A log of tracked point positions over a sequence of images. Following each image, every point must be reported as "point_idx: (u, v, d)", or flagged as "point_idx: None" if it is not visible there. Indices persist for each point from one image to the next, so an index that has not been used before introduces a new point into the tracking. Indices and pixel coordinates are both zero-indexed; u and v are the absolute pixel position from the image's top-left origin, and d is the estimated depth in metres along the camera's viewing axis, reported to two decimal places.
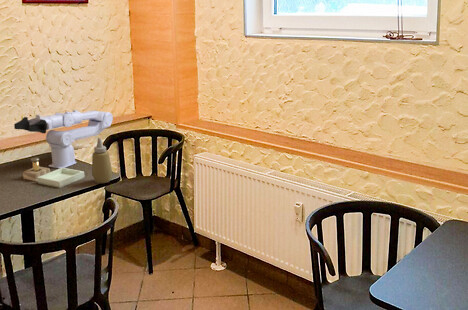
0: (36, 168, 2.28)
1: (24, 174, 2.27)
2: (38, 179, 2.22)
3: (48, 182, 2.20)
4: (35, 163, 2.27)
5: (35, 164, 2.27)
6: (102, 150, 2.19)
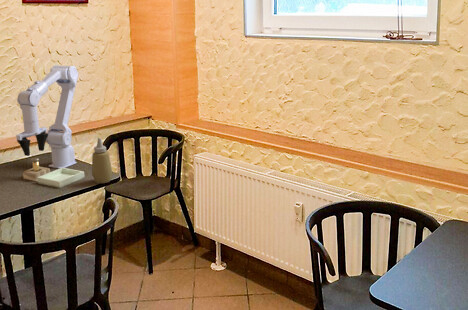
0: (36, 168, 2.28)
1: (24, 174, 2.27)
2: (38, 179, 2.22)
3: (48, 182, 2.20)
4: (35, 163, 2.27)
5: (35, 164, 2.27)
6: (102, 150, 2.19)
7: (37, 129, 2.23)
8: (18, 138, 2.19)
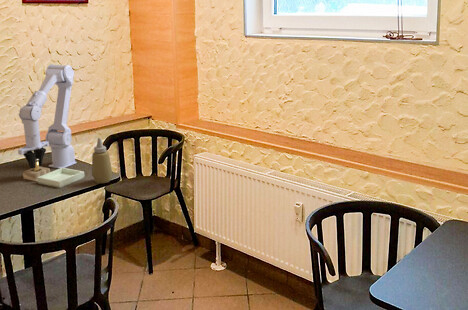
0: (36, 168, 2.28)
1: (24, 174, 2.27)
2: (38, 179, 2.22)
3: (48, 182, 2.20)
4: (35, 163, 2.27)
5: (35, 164, 2.27)
6: (102, 150, 2.19)
7: (39, 143, 2.25)
8: (20, 153, 2.20)
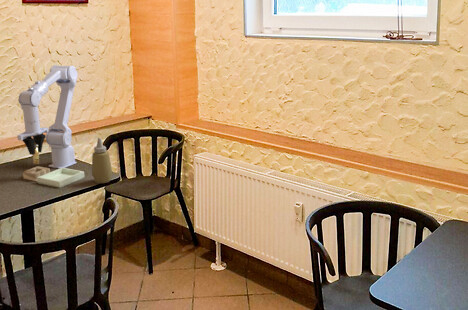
0: (35, 154, 2.26)
1: (24, 174, 2.27)
2: (38, 179, 2.22)
3: (48, 182, 2.20)
4: None
5: None
6: (102, 150, 2.19)
7: (38, 129, 2.23)
8: (19, 138, 2.18)
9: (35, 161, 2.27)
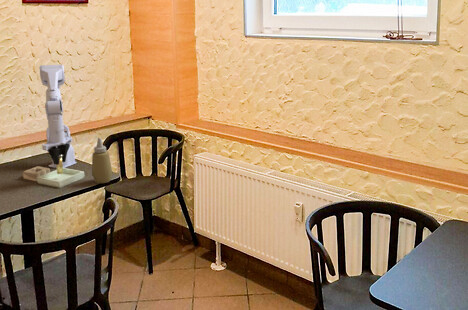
0: (59, 164, 2.23)
1: (24, 174, 2.27)
2: (38, 179, 2.22)
3: (48, 182, 2.20)
4: (59, 159, 2.23)
5: (59, 160, 2.23)
6: (102, 150, 2.19)
7: (63, 139, 2.20)
8: (44, 148, 2.16)
9: (59, 171, 2.24)
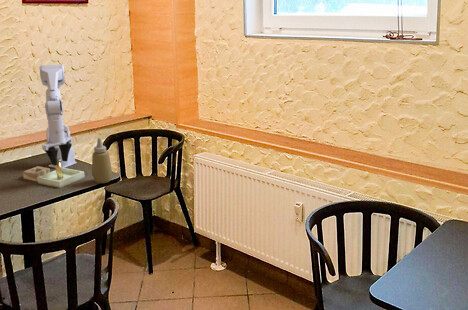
0: (59, 169, 2.24)
1: (24, 174, 2.27)
2: (38, 179, 2.22)
3: (48, 182, 2.20)
4: (57, 164, 2.24)
5: (57, 165, 2.24)
6: (102, 150, 2.19)
7: (63, 139, 2.20)
8: (44, 148, 2.16)
9: (59, 176, 2.25)
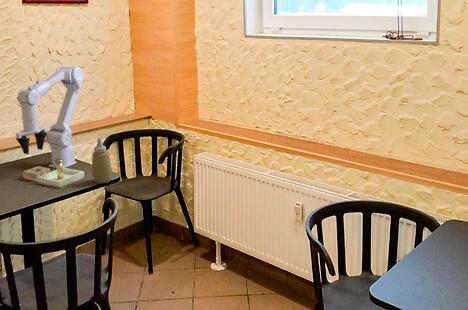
0: (60, 170, 2.24)
1: (24, 174, 2.27)
2: (38, 179, 2.22)
3: (48, 182, 2.20)
4: (59, 164, 2.23)
5: (59, 166, 2.23)
6: (102, 150, 2.19)
7: (36, 128, 2.26)
8: (18, 136, 2.21)
9: (59, 176, 2.25)
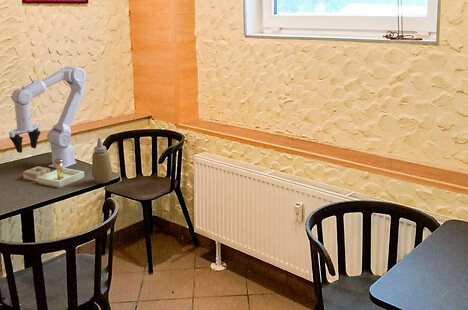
0: (60, 170, 2.24)
1: (24, 174, 2.27)
2: (38, 179, 2.22)
3: (48, 182, 2.20)
4: (59, 165, 2.23)
5: (59, 166, 2.23)
6: (102, 150, 2.19)
7: (30, 126, 2.28)
8: (11, 135, 2.23)
9: (59, 176, 2.25)
